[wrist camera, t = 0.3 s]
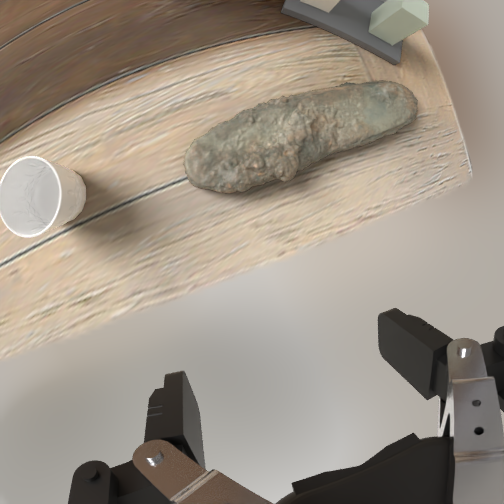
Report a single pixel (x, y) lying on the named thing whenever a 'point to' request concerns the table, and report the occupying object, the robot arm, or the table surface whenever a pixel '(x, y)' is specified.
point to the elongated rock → (296, 134)
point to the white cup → (39, 196)
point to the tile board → (347, 24)
